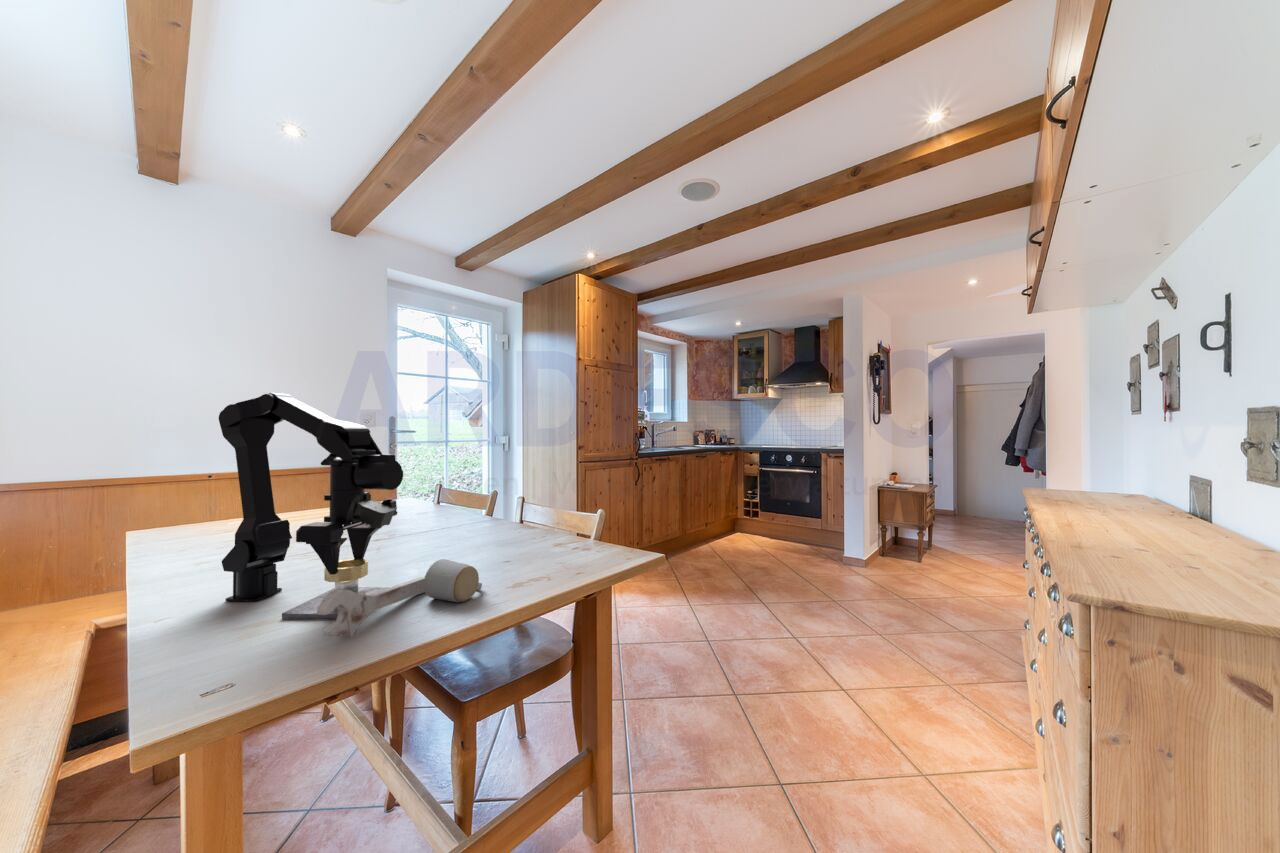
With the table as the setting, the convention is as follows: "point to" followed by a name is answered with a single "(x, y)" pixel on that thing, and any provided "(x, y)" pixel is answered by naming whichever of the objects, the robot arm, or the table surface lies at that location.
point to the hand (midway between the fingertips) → (346, 568)
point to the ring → (348, 570)
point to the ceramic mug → (451, 581)
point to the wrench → (363, 605)
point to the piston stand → (311, 606)
